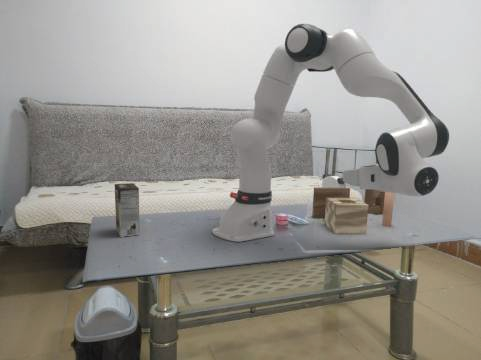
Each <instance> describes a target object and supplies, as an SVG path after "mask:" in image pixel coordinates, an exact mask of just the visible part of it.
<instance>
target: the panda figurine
mask: <svg viewBox="0 0 481 360" xmlns="http://www.w3.org/2000/svg"><path fill="white" fill-rule="evenodd" d="M322 179H323V180H322V183H321V188H347V186H346V183H344V182H343V177H339V176H337V175H332V174H329V173H327V174H322Z"/></svg>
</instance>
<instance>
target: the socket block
mask: <svg viewBox="0 0 481 360" xmlns="http://www.w3.org/2000/svg"><path fill="white" fill-rule="evenodd" d="M368 215H369V214H368V204H366V203H364V202H363V201H361V200H360V199H359V198H356V197H350V198H326V209H325V218H324V225H325V226H326V227H327V228H328V229H329V230H331V231H332V232H333V233H334V234H367V227H368Z"/></svg>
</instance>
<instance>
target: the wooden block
mask: <svg viewBox="0 0 481 360" xmlns="http://www.w3.org/2000/svg"><path fill="white" fill-rule="evenodd" d="M364 190H365V189H364ZM384 198H385V192H382V191H378V190H365V191H364V203H366V204H368V215H370V214H371V215H383V209H384ZM374 200H375V201H374Z"/></svg>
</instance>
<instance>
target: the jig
mask: <svg viewBox="0 0 481 360" xmlns="http://www.w3.org/2000/svg"><path fill="white" fill-rule="evenodd" d="M350 195H351V188H349V187H346V188H322V187H313V195H312V196H313V197H312V198H313V199H312V200H313V201H312V212H311V213H312V215H311V217H312V218H313V219H325V209H326V198H351V197H350Z"/></svg>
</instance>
